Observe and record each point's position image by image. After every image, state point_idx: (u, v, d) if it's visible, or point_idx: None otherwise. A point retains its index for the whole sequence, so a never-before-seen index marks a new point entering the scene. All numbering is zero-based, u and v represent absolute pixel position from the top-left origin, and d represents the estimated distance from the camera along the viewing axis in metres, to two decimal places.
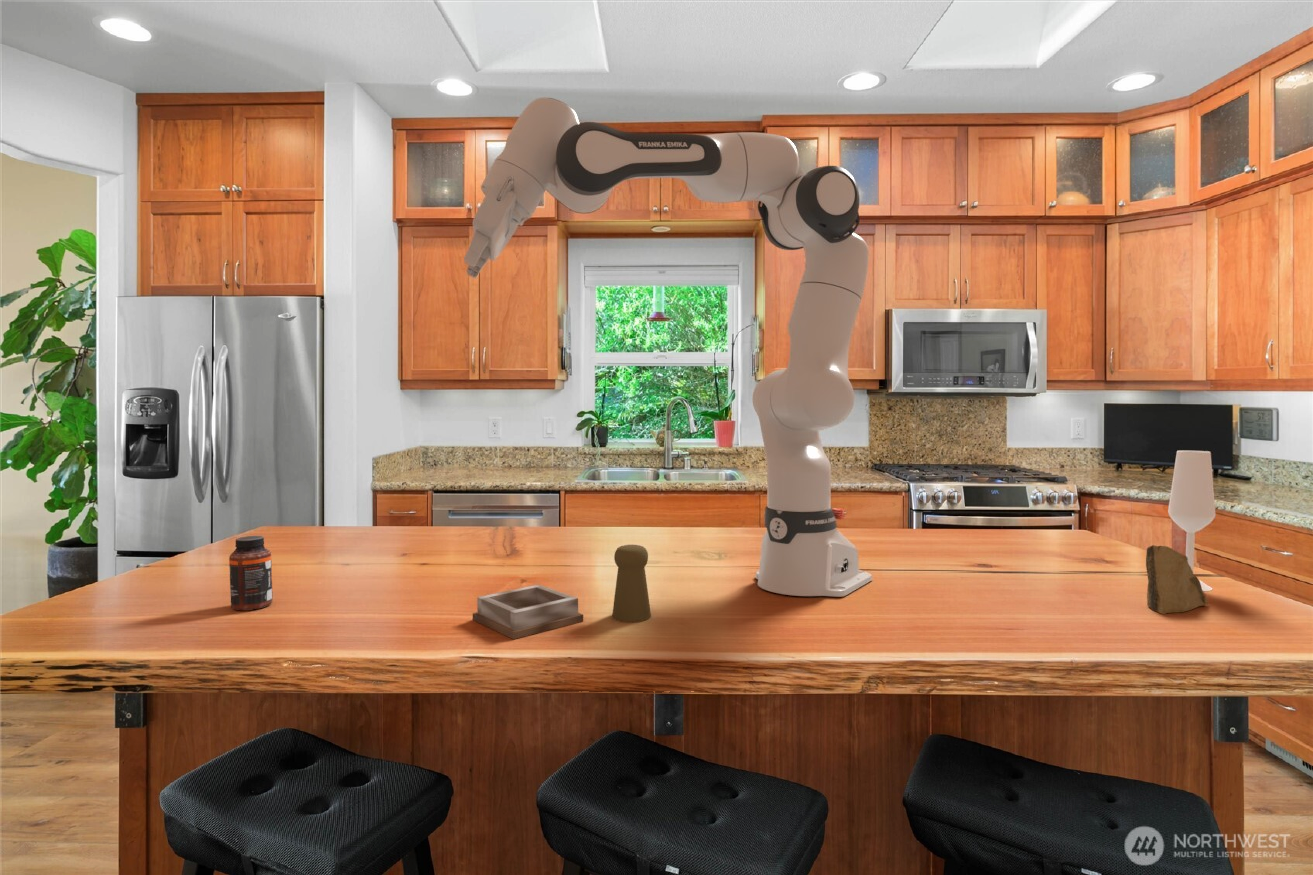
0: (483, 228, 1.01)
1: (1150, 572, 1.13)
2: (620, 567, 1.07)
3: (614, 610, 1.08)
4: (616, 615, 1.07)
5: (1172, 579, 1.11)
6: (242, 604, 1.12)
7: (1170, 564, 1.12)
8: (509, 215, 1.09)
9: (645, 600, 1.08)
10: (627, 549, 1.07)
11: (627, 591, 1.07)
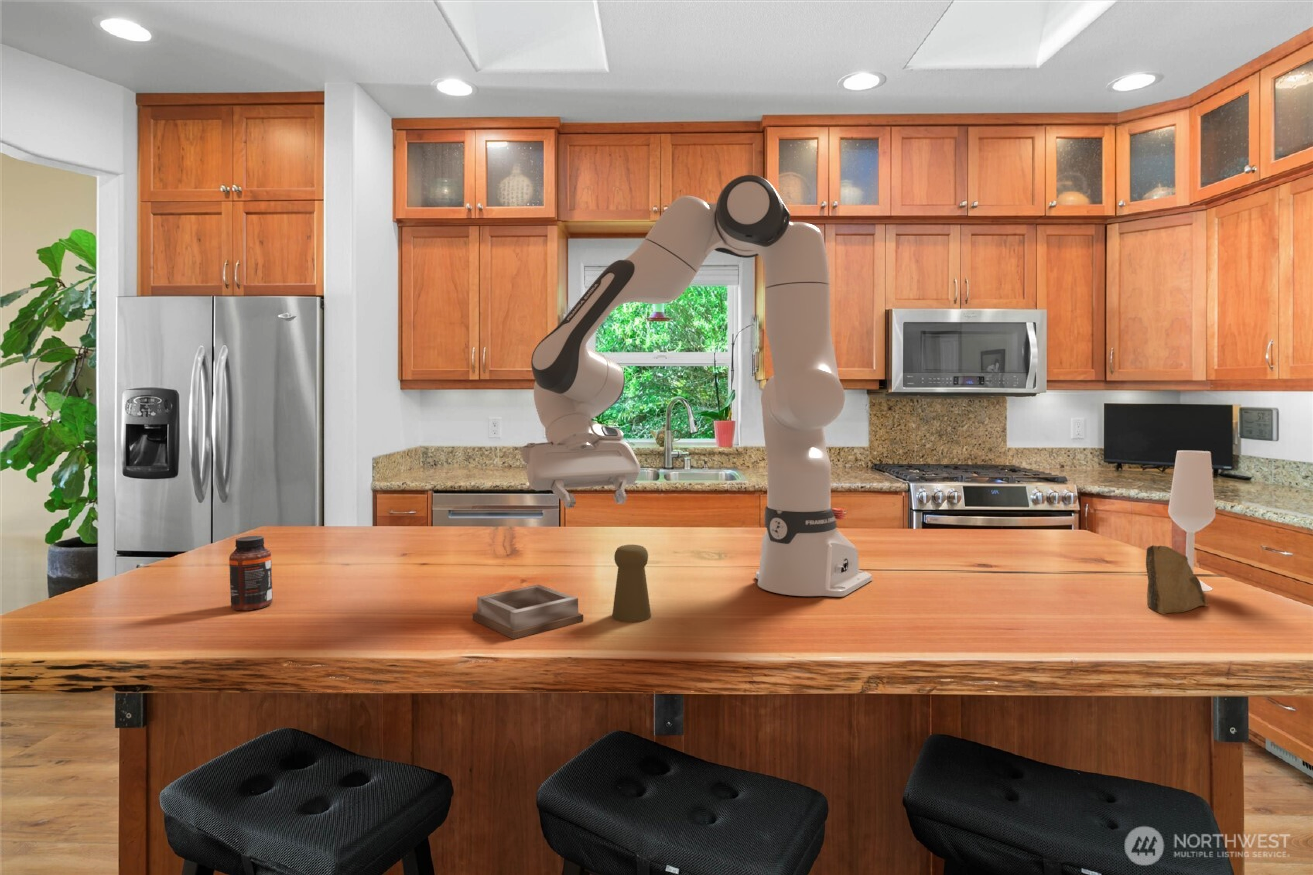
0: (536, 484, 1.17)
1: (1150, 572, 1.13)
2: (620, 567, 1.07)
3: (614, 610, 1.08)
4: (616, 615, 1.07)
5: (1172, 579, 1.11)
6: (242, 604, 1.12)
7: (1170, 564, 1.12)
8: (570, 452, 1.23)
9: (645, 600, 1.08)
10: (627, 549, 1.07)
11: (627, 591, 1.07)
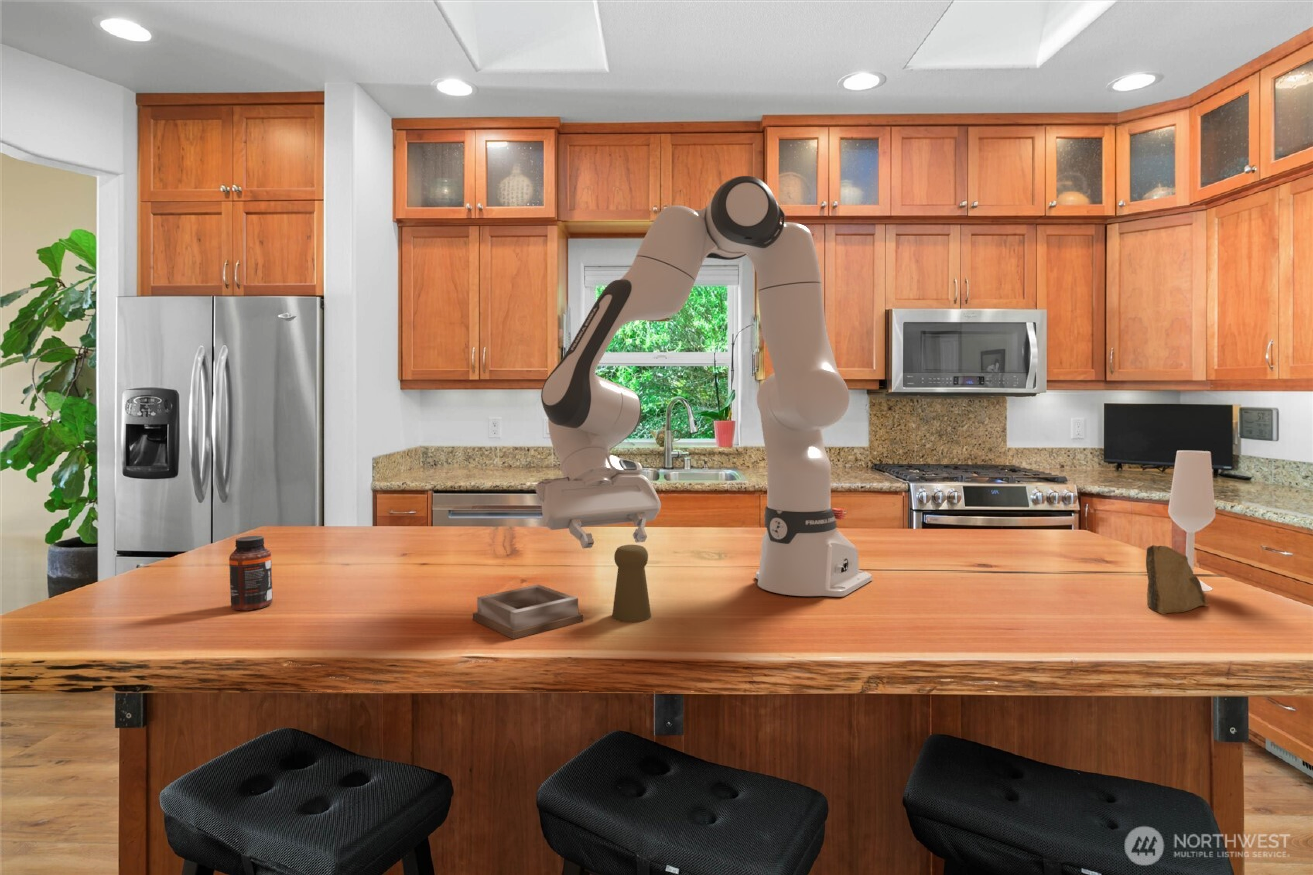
0: (552, 523, 1.11)
1: (1150, 572, 1.13)
2: (620, 567, 1.07)
3: (614, 610, 1.08)
4: (616, 615, 1.07)
5: (1172, 579, 1.11)
6: (242, 604, 1.12)
7: (1170, 564, 1.12)
8: (587, 488, 1.17)
9: (645, 600, 1.08)
10: (627, 549, 1.07)
11: (627, 591, 1.07)
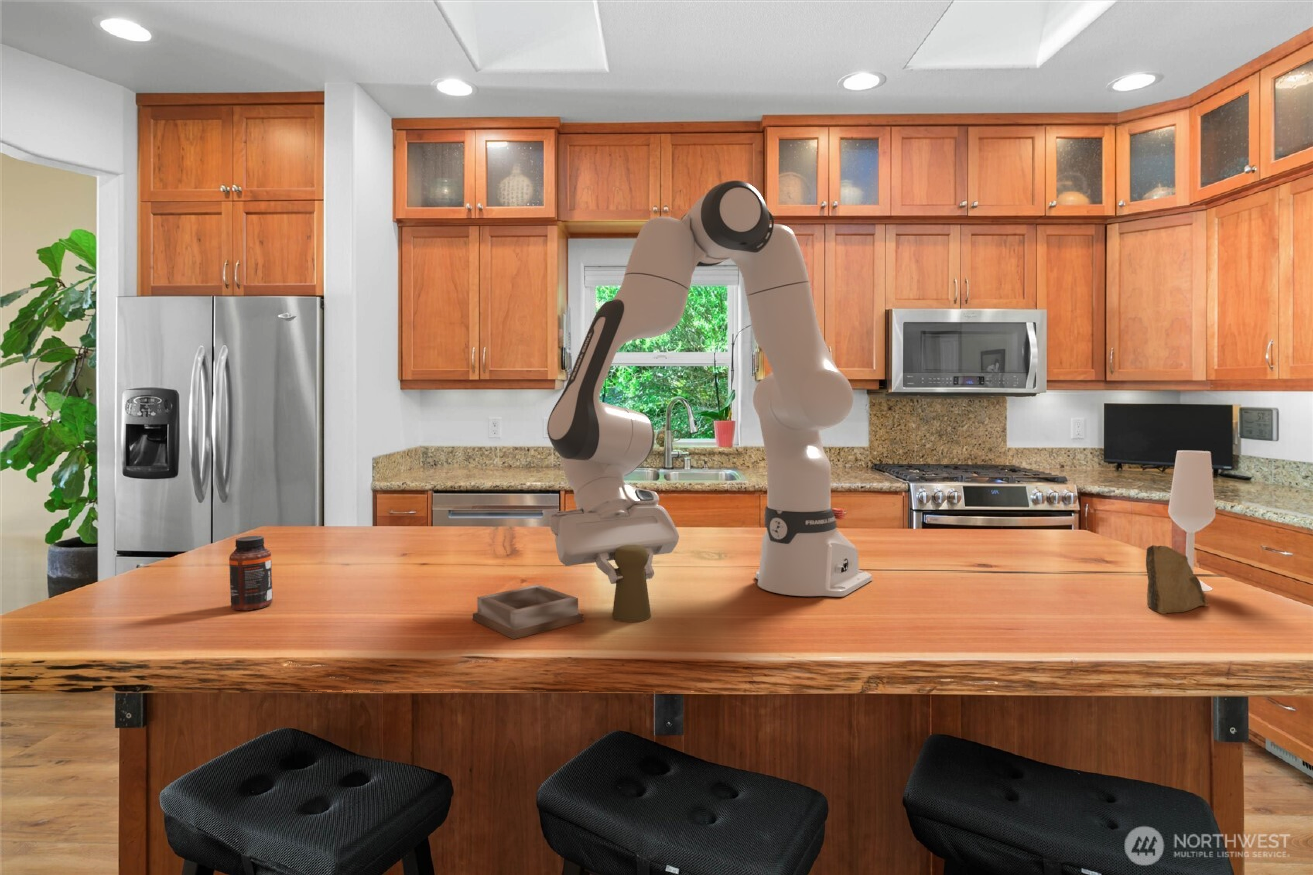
0: (567, 559, 1.06)
1: (1150, 572, 1.13)
2: (620, 567, 1.07)
3: (614, 610, 1.08)
4: (616, 615, 1.07)
5: (1172, 579, 1.11)
6: (242, 604, 1.12)
7: (1170, 564, 1.12)
8: (603, 521, 1.12)
9: (645, 600, 1.08)
10: (627, 549, 1.07)
11: (627, 591, 1.07)
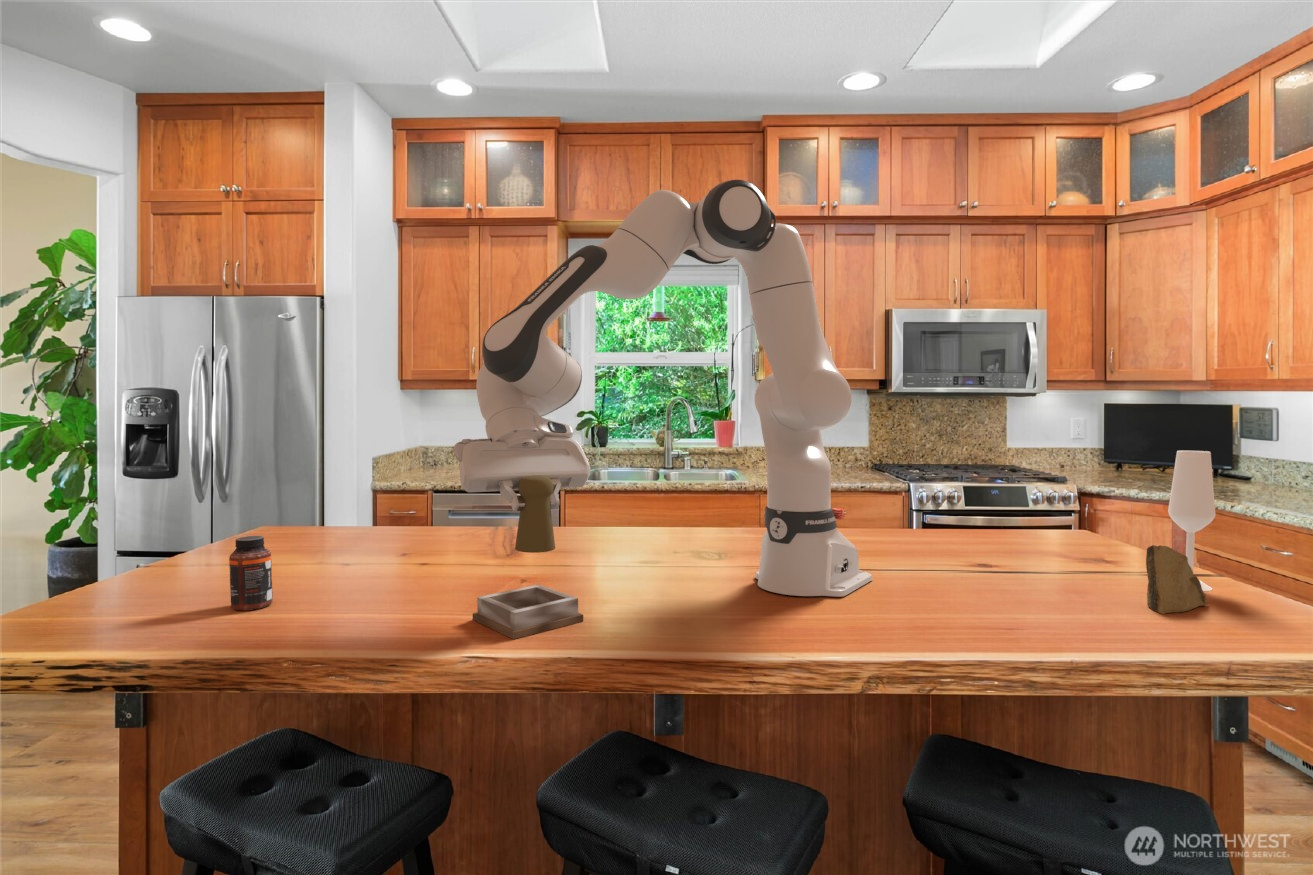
0: (467, 485, 1.04)
1: (1150, 572, 1.13)
2: (523, 497, 1.05)
3: (516, 541, 1.06)
4: (517, 546, 1.05)
5: (1172, 579, 1.11)
6: (242, 604, 1.12)
7: (1170, 564, 1.12)
8: (510, 450, 1.10)
9: (548, 531, 1.05)
10: (530, 478, 1.04)
11: (529, 521, 1.04)
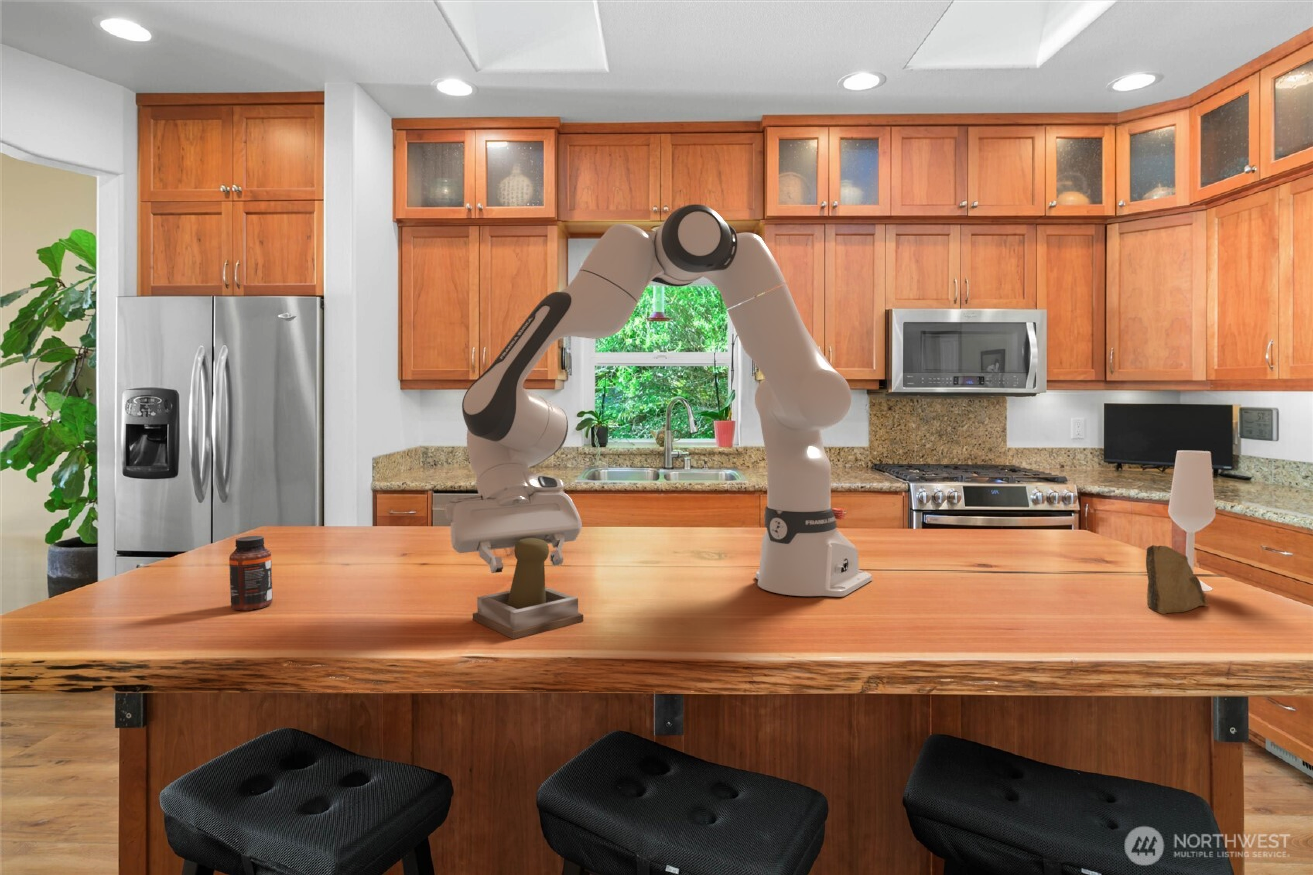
0: (459, 546, 1.04)
1: (1150, 572, 1.13)
2: (518, 560, 1.06)
3: (508, 602, 1.07)
4: None
5: (1172, 579, 1.11)
6: (242, 604, 1.12)
7: (1170, 564, 1.12)
8: (501, 507, 1.10)
9: (540, 595, 1.06)
10: (527, 542, 1.06)
11: (522, 585, 1.05)
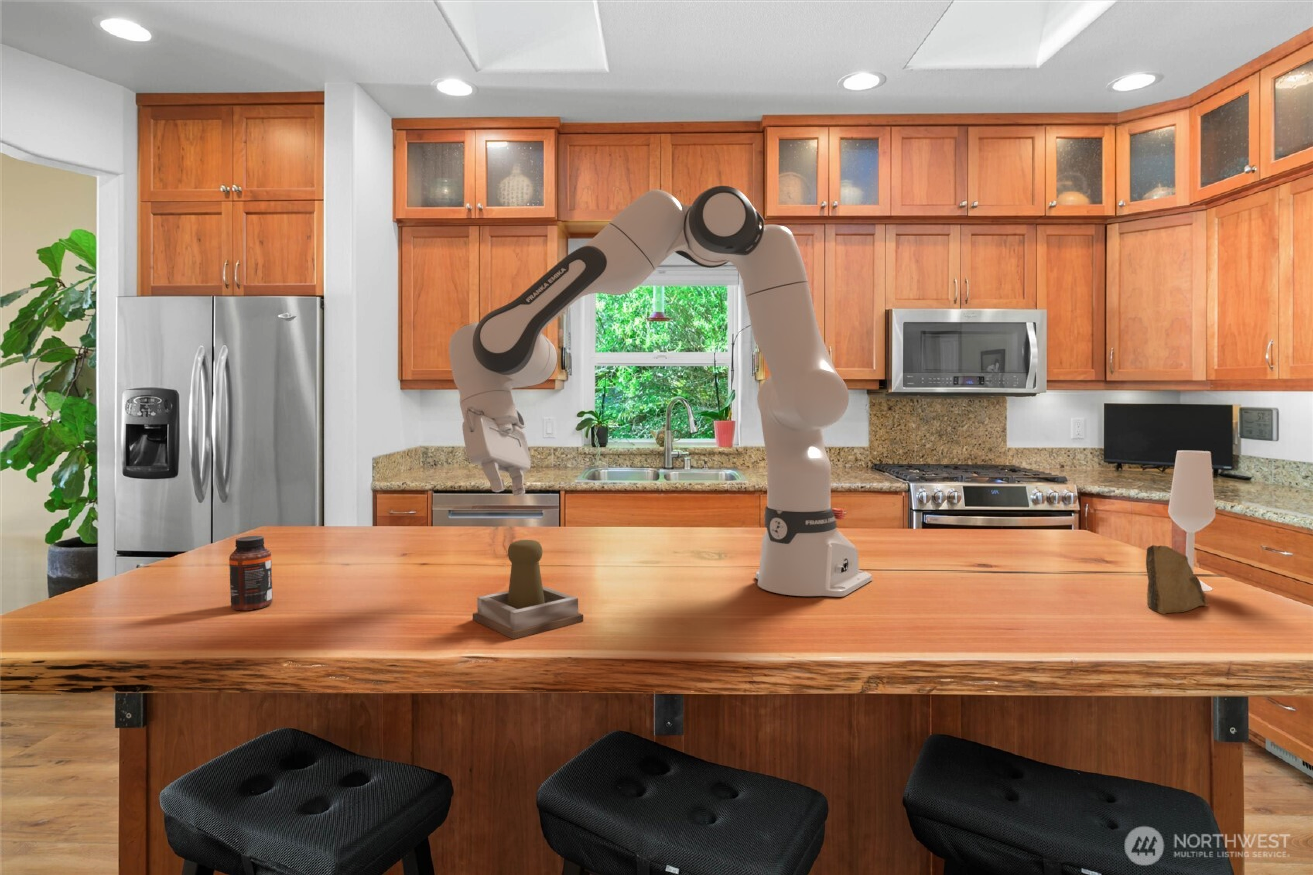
0: (480, 459, 1.10)
1: (1150, 572, 1.13)
2: (512, 562, 1.06)
3: None
4: None
5: (1172, 579, 1.11)
6: (242, 604, 1.12)
7: (1170, 564, 1.12)
8: (499, 431, 1.18)
9: (538, 596, 1.06)
10: (519, 544, 1.06)
11: (519, 587, 1.05)
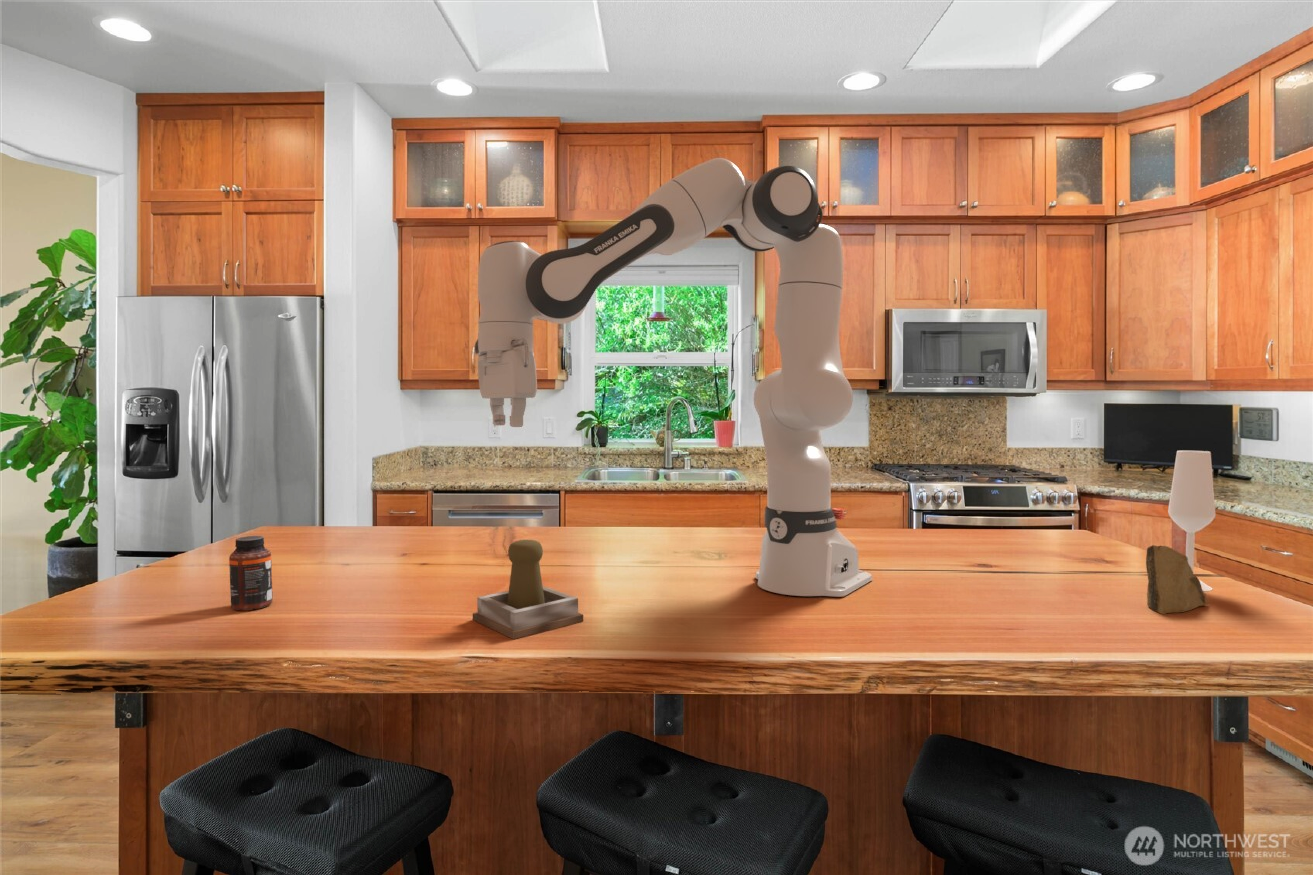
0: (526, 396, 1.09)
1: (1150, 572, 1.13)
2: (512, 562, 1.06)
3: None
4: None
5: (1172, 579, 1.11)
6: (242, 604, 1.12)
7: (1170, 564, 1.12)
8: None
9: (538, 596, 1.06)
10: (519, 544, 1.06)
11: (519, 587, 1.05)
